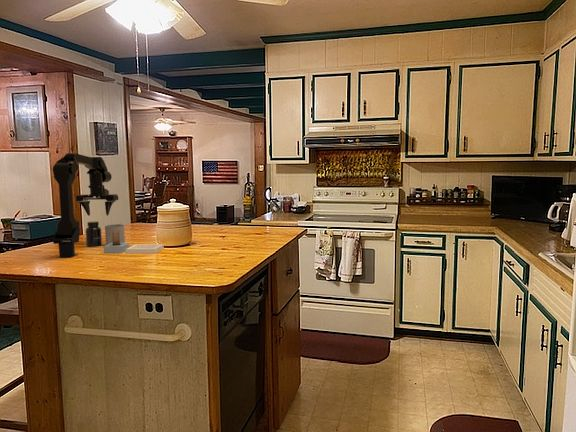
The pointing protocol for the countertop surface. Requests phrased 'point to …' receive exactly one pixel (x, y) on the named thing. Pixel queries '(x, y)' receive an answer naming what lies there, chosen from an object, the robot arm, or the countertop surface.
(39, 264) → the countertop surface
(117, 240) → the dowel
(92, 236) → the supplement bottle
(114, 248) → the grey square peg base
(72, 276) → the countertop surface
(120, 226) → the cup
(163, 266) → the countertop surface
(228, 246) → the countertop surface
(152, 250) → the tray
